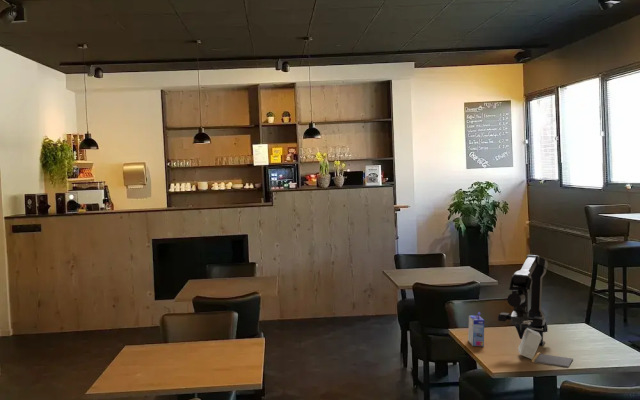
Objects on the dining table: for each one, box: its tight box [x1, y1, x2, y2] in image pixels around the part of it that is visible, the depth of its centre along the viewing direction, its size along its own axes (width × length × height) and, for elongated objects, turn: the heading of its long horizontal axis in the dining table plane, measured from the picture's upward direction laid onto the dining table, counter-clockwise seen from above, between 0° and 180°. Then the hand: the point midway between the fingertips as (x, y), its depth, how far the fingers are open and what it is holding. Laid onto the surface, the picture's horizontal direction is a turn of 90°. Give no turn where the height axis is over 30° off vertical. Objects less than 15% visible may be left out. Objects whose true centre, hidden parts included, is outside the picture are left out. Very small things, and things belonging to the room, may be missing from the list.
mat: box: [531, 351, 574, 368], centre depth 249 cm, size 12×14×1 cm
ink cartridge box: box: [467, 311, 485, 347], centre depth 276 cm, size 10×6×14 cm, turn 178°
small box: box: [517, 328, 542, 360], centre depth 255 cm, size 8×6×10 cm
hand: (521, 338), depth 256 cm, fingers closed
